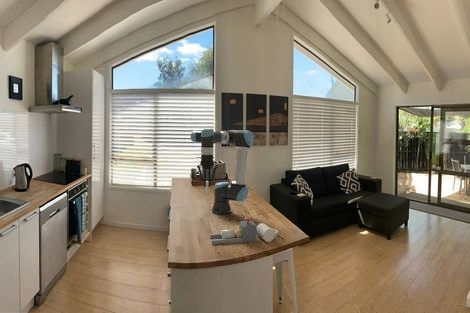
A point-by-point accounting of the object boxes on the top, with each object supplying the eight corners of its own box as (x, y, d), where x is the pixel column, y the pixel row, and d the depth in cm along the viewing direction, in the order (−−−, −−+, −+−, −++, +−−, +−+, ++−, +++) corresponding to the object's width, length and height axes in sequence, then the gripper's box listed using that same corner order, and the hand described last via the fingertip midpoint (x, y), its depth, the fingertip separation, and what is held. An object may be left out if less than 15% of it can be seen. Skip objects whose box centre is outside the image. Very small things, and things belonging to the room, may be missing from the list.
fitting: (221, 238, 161) (221, 229, 161) (232, 238, 162) (232, 228, 163) (222, 240, 155) (222, 230, 156) (234, 239, 157) (234, 230, 157)
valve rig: (209, 238, 162) (210, 217, 160) (251, 236, 167) (252, 215, 165) (211, 246, 152) (212, 223, 150) (256, 243, 157) (257, 220, 156)
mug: (263, 243, 158) (263, 229, 157) (255, 236, 167) (255, 224, 166) (280, 240, 163) (281, 227, 162) (272, 233, 172) (272, 221, 171)
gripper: (197, 154, 160) (196, 193, 163) (218, 154, 163) (218, 192, 166) (196, 153, 168) (195, 190, 170) (217, 153, 170) (216, 190, 173)
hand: (206, 191), depth 168 cm, fingers closed
